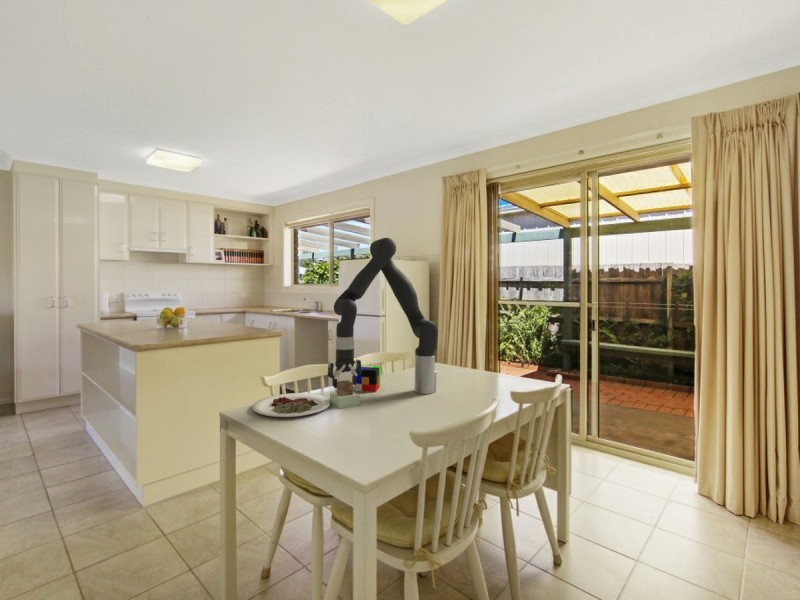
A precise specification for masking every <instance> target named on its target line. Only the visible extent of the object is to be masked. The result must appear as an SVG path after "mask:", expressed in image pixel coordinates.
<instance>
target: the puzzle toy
mask: <svg viewBox="0 0 800 600" xmlns="http://www.w3.org/2000/svg"><path fill="white" fill-rule="evenodd" d="M354 369H355V371H356V368H354ZM381 373H382V371H381V366H380V365H364V364H363V365H362V364H361V374H359V375H358V376H357V384H356V385H354V391H355V392H371V393H376V392H377V391H378V390H380V387H381V378H382V377H381Z"/></svg>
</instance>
